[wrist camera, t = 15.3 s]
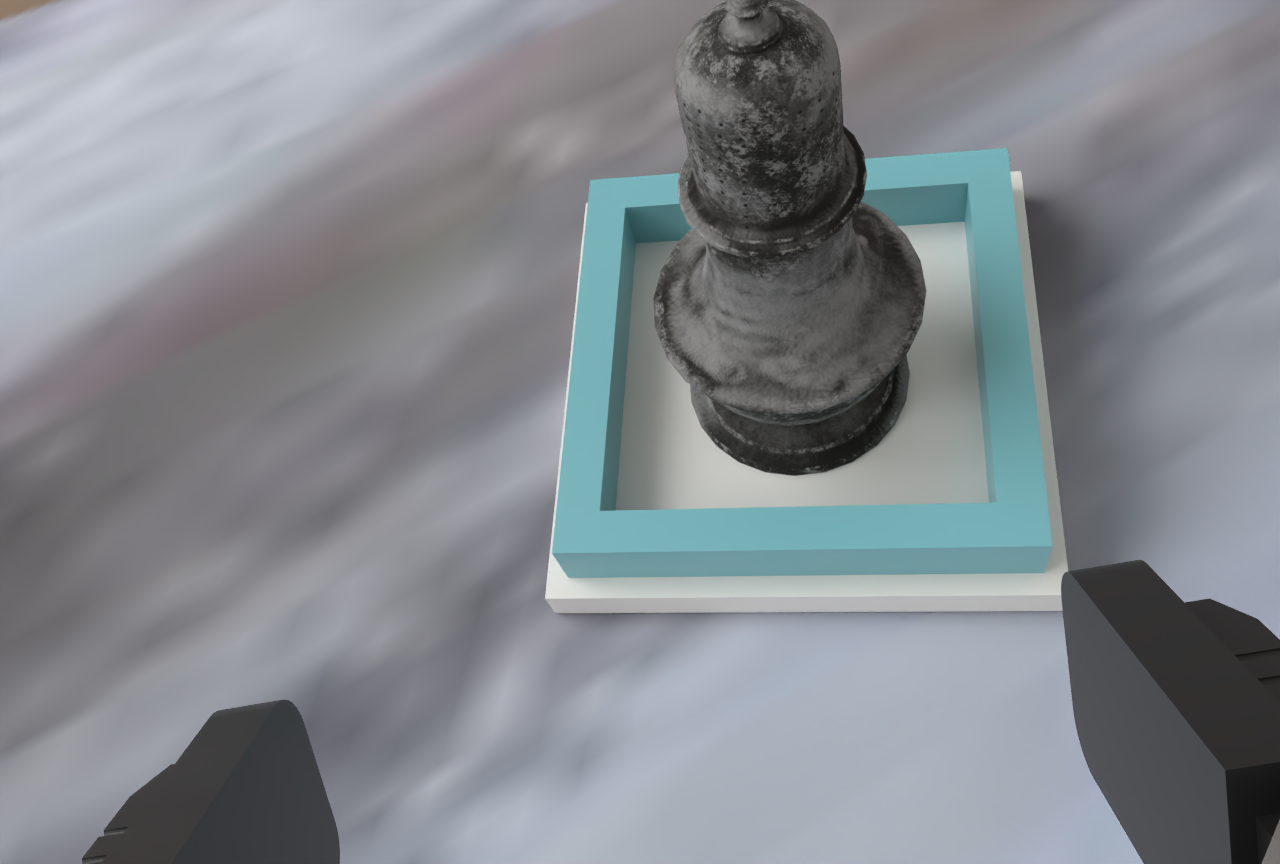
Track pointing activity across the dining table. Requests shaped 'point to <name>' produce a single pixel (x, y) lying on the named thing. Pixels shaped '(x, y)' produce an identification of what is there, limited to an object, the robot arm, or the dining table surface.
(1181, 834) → the robot arm
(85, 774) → the dining table surface
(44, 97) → the dining table surface
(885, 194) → the socket board
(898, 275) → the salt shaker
